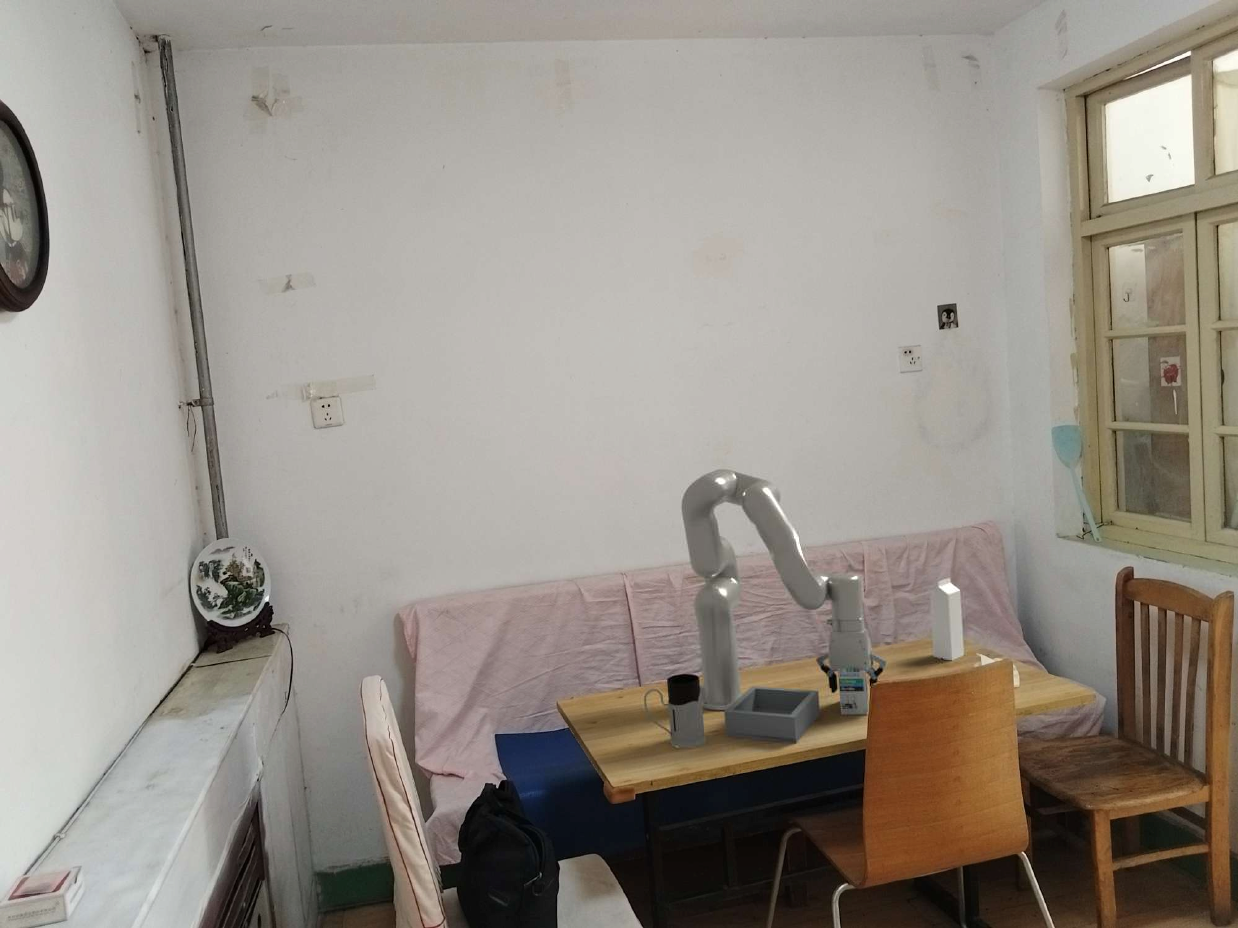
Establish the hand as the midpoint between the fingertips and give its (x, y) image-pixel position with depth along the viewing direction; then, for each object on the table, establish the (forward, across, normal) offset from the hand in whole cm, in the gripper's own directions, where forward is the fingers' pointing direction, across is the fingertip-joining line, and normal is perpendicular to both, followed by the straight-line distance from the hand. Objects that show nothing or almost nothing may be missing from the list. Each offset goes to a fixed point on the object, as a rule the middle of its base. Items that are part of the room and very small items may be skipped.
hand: (853, 692), depth 244 cm
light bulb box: (+4, 0, 0) cm, 4 cm away
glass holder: (+4, -33, -33) cm, 47 cm away
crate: (+4, -15, -16) cm, 23 cm away
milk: (+4, +15, +47) cm, 49 cm away
